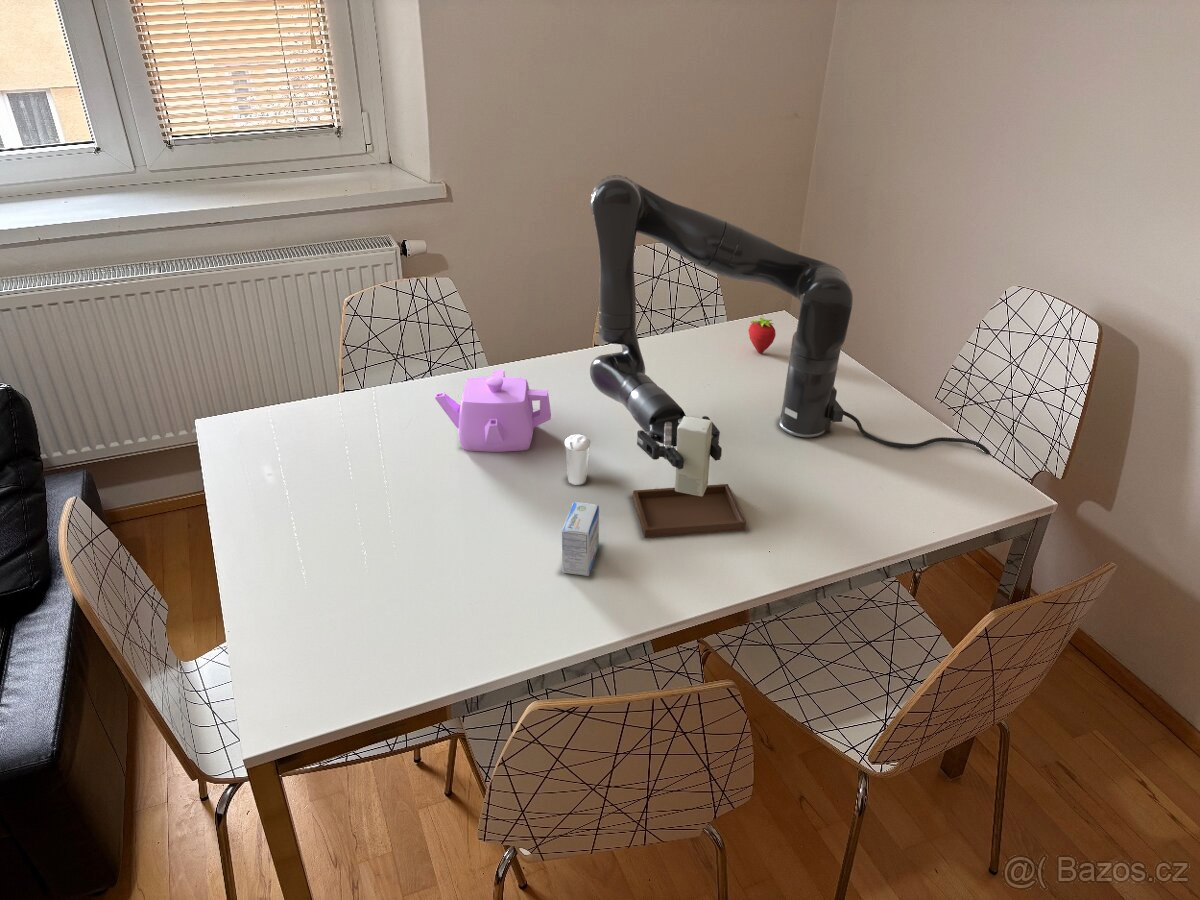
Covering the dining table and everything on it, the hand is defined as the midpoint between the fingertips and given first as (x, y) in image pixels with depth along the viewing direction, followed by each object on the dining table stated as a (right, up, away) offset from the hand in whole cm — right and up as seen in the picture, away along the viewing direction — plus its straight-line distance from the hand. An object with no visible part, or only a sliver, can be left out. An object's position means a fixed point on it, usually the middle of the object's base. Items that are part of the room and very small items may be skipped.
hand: (700, 460), depth 144 cm
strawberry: (+21, +24, +62) cm, 70 cm away
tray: (-1, -9, +9) cm, 13 cm away
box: (-1, -5, +6) cm, 8 cm away
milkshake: (-21, -4, +16) cm, 27 cm away
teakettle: (-37, +4, +29) cm, 47 cm away
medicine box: (-20, -16, -2) cm, 26 cm away
